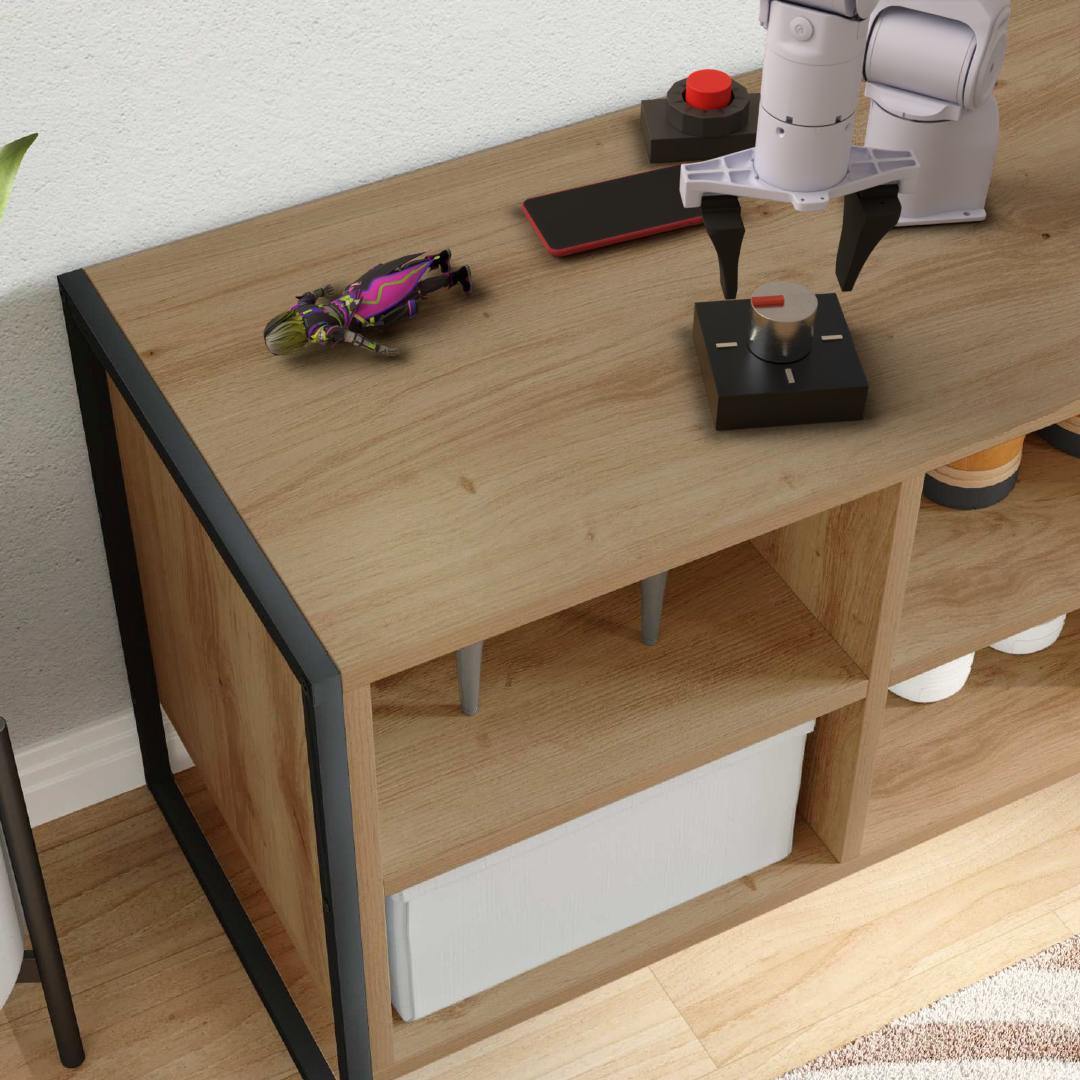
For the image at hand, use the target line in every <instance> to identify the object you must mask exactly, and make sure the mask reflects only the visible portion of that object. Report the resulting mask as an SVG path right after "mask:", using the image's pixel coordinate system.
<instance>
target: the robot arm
mask: <svg viewBox="0 0 1080 1080" xmlns="http://www.w3.org/2000/svg"><path fill="white" fill-rule="evenodd" d="M1010 5H1011V0H759V11H758V22H759V26H761V27H762V28H763V29H765V30H766V31H765V32H766V33H765V43H764V52H763V62H762V63H763V64H762V73H761V75H762V76H761V85H760V92H759V93H760V105H759V115H758V126H757V136H756V146H755V147H754V148H750V149H746V150H743V151H739V152H736V153H732V154H729V155H725V156H722V157H718V158H715V159H706V160H704V161H698V162H692V163H689V164H682V165H681V174H680V194H681V198H682V202H683V205H684V207H685V208H692V207H699V208H700V212H701V215H702V219H703V223H702V224H703V225H704V228H705V230H706V233H707V235H708V238H709V239H710V241H711V243H712V245H713V248H714V250H715V253H716V255H717V260H718V269H719V283H720V287H721V290H722V295H723V299H724V300H737V295H738V289H739V287H738V285H739V260H740V255H741V250H742V245H743V242H744V236H745V233H746V227H745V224H744V221H743V218H742V206H741V204H740V202H739V199H749V198H751V199H757V200H764V201H771V202H779V203H785V204H792V206H793V208H794V209H795V211H797V212H799V213H812V212H824V211H827V210H828V209H829V206H830V201H832V200H834V199H837V198H840V197H843V212H842V214H843V215H842V225H841V231H840V236H839V242H838V248H837V252H836V258H835V270H834V271H835V273H834V274H835V277H836V279H837V280H836V281H837V282H838V286H839V288H840V291H841V293H848V292H849V293H850V292H852V291H853V289H854V287H855V284H856V282H857V280H858V277H859V275H860V273H861V271H862V270H863V267H864V265H865V264H866V263H867V261H868V259H869V257H870V256H871V254H872V252H873V251H874V250H875V248H876V247H877V245H878V244H879V243H880V242H881V241H882V239H883V238H884V237H885V236H886V235H887V234H888V233H889V232H890V231H891V230H892V229H893V228H894V227H908V226H921V225H922V226H923V225H937V224H939V225H940V224H953V223H969V222H981V221H985V220H986V217H987V211H986V210H985V206H986V205H985V204H986V201H987V196H988V191H989V187H990V183H991V178H992V174H993V169H994V164H995V161H996V155H997V152H998V147H999V140H1000V113H999V112H1000V111H999V107H998V106H999V105H998V102H997V99H996V96H995V95H994V93H993V90H994V88H995V86H996V83H997V82H998V79H999V75H1000V73H1001V70H1002V66H1003V64H1004V59H1005V56H1006V51H1007V45H1008V28H1009V21H1010V18H1011V17H1010V16H1011V11H1012V9H1011V8H1010ZM861 82H864V83H865V87H864V88H865V89H864V94H863V95H864V97H866V98H868V99H870V104H869V111H868V116H867V124H866V131H865V136H864V142H863V143H864V144H863V145H862V146H861V145H856V144H855V145H854V144H853V143H852V142H853V135H854V128H855V122H856V115H857V114H856V113H857V107H858V100H859V93H860V87H861Z"/></svg>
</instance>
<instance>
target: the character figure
mask: <svg viewBox="0 0 1080 1080" xmlns="http://www.w3.org/2000/svg"><path fill="white" fill-rule="evenodd" d="M431 251H432V249H428V250H426V251H423V252H417V253H413V254H407V255H404V256H401V257H398V258H395V259H392V260H390V261H387V262H385V263H378V264H377V265H375V266H373V267H370V268H369V270H368V271H366V272H365V273H364V274H362V275H361V276H360V277H358V278H357V279H356V280H355V281H353V282H352V283H350V284H348V285H346V286H345V287H344V290H343V291H342V293H341V295H340V297H337V298H336V299H334V298H332V297H330V296H332V295H335V294H336V292H334V291H335V289H334V286H333V285H332V284H331V283H329V284H327V285H324V286H322V287H319V288H317V289H314V290H313V291H307V292H304V293H302V295H295V299H297V300H298V301H297V303H295V304H294V305H292V306H291V307H290V308H289V309H288V310H285V311H282V312H280V313H279V314H277V315H276V316H274V317H273V318H271V319H270V321H268V322H267V324H266V326H265V328H264V329H263V340H264V345H265V347H266V348H267V350H268V351H269V352H270V353H271V354H272V355H273V356H289V355H292V354H294V353H297V352H301V351H303V350H304V349H308V346H305V345H306V344H307V343H309V340H310V343H315V344H319V345H322V346H326V345H327V344H328V342H329V343H333V345H332V349H334V348H335V347H336V345H339V344H345V343H350V344H352V345H354V346H355V347H360V348H363V349H367V350H369V351H371V352H373V353H380V354H382V355H385V356H396V355H398V354H400V353H401V351H400V350H398V348H397V347H395V348H389V347H387V346H385V345H381V344H378V343H377V342H375V341H372V340H370V339H368V338H367V337H365V336H363V335H362V334H360V333H362V331H363V334H371V333H378V332H385V331H386V329H385V327H386V326H389V325H392V324H394V323H397V322H399V321H400V322H401V321H402V320H404V319H406V318H408V319H413V318H415V317H416V316H417V315H418V314H419V312H420V311H419V308H420V307H419V306H420V305H419V301H427V300H429V297H426V296H429V295H430V294H432V293H434V292H436V291H438V290H440V289H442V288H447V287H448V288H447V290H450V289H451V288H453V287H457V286H459V285H460V286H461V288H462V291H463V294H466V295H467V294H472V293H473V292H474V283H473V279H472V272H471V268H470V266H469V264H464V265H463V266H461V267H460V268H459V269H458V270H455V271H451V263H450V262H451V260H452V251H451V249H450V248H449V247H446V248H445V249H443V250H441V251H440V252H439V253H436V254H431V255H430V254H429V255H425V257H424V258H420V259H419V258H418V257H420V256H422V255H424V254H426V253H429V252H431ZM416 258H418V259H416ZM439 268H440V272H441V273H442V274H441V275H435V276H430V277H427V278H425V279H422V277H423V276H424V274H425V272H426V271H427V270H428V269H429V271H428V272H427V273H431V272H432V271H435V270H438V269H439ZM319 298H324V299H326V300H329V301H330V303H329V304H328V305H326V304H324V303H321V304H316V303H317V301H318V299H319Z"/></svg>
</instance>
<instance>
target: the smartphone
mask: <svg viewBox="0 0 1080 1080" xmlns="http://www.w3.org/2000/svg"><path fill="white" fill-rule="evenodd" d="M689 163H693V161H686V162H682V163H677V164H673V165H668V166H664V167H659V168H656V169H650V170H647V171H643V172H638V173H633V174H629V175H624V176H621V177H616V178H611V179H606V180H603V181H599V182H593V183H589V184H586V185H581V186H576V187H572V188H568V189H564V190H559V191H555V192H550V193H546V194H542V195H541V194H540V195H537V196H533V197H528V198H526V199H525V200H524V201H523V202H522V203H521V210H522V212H523V214H524V215H525V217H526V219H527V220H528V221H529V223H530V225H531V227H532V228H533V230H534V232H535V234H536V235H537V236H538V238H539V240H540V241H541V243H542V245H543V246H544V248H545V250H546V251H547V253H548V254H549V255H550V256H553V257H557V258H558V257H559V258H560V257H564V256H565V257H566V256H568V255H573V254H576V253H581V252H585V251H590V250H594V249H597V248H602V247H606V246H610V245H615V244H618V243H622V242H628V241H631V240H636V239H640V238H644V237H649V236H653V235H657V234H660V233H665V232H669V231H673V230H677V229H682V228H686V227H690V226H695V225H700V224H704V223H703V219H702V215H701V212H700V208H699V207H692V208H685V207H684V205H683V202H682V198H681V194H680V174H681V165H682V164H689Z"/></svg>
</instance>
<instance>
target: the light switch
mask: <svg viewBox="0 0 1080 1080" xmlns="http://www.w3.org/2000/svg"><path fill="white" fill-rule="evenodd" d="M687 78H688V76H687V77H685V78H682V79H679V80H676V81H675V82H673V84H672V85H671V87H670V88H668V90H667V92H666V98H655V99H654V98H653V99H652V98H651V99H641V101H640V114H639V115H640V116H639V117H640V118H639V119H640V120H639V124H640V128H641V132H642V136H643V140H644V144H645V147H646V152H647V156H648V160H649V163H650V164H651V163H654V164H655V163H666V162H667V163H669V162H684V161H698V160H699V161H701V160H711V159H715V158H718V157H722V156H725V155H729V154H732V153H736V152H739V151H743V150H746V149H750V148H754V147H755V146H756V136H757V126H758V115H759V105H760V93H761V92H748V90H747V87H746V86H744V85H742V84H741V83H739V82H737V80H736V79H735V80H734V79H733V78H731V80H732V87H731V100H730V103H729V105H728V106H726V107H723V108H721V109H712V110H703V109H699V108H694V107H692V106H690V105H689V104H687V102H686V83H687Z"/></svg>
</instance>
